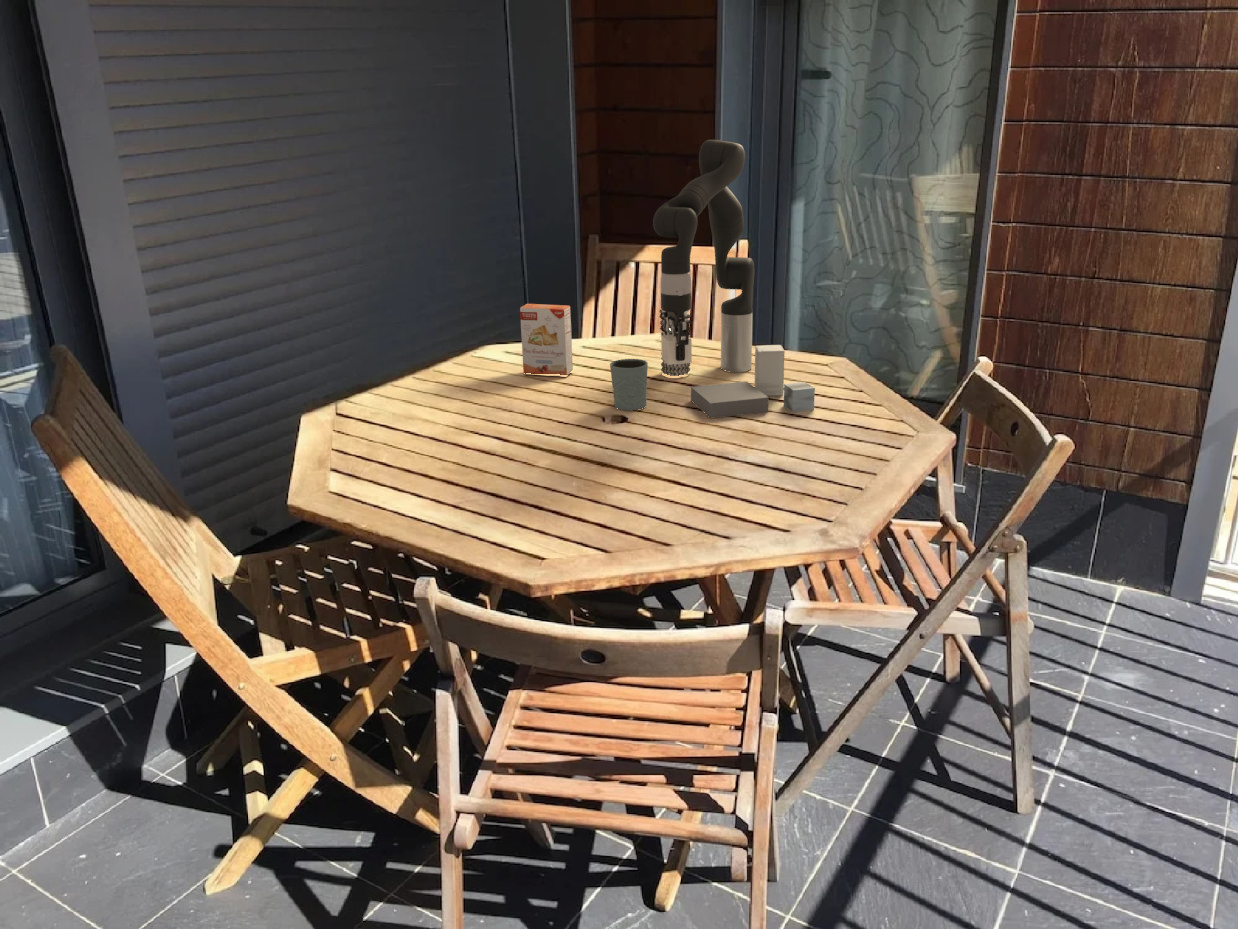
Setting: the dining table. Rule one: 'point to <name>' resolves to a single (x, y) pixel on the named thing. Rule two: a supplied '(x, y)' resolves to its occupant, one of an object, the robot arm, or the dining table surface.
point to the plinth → (729, 399)
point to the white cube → (674, 350)
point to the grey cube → (799, 397)
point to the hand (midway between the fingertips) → (676, 356)
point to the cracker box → (546, 339)
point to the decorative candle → (674, 368)
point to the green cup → (629, 383)
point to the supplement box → (769, 369)
